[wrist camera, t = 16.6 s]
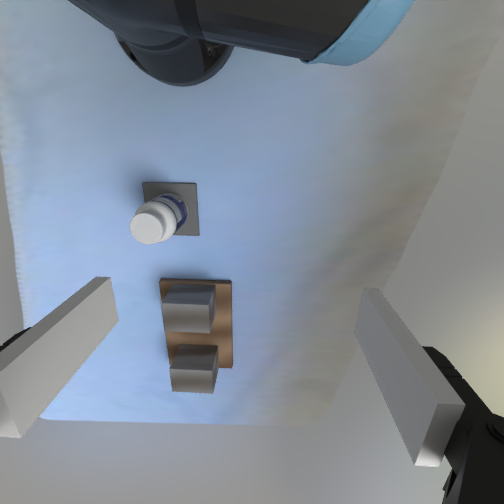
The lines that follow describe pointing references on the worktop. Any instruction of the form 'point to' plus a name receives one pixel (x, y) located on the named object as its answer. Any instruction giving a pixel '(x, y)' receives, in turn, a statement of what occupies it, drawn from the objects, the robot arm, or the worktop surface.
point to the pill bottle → (159, 218)
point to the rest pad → (186, 193)
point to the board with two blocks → (197, 331)
